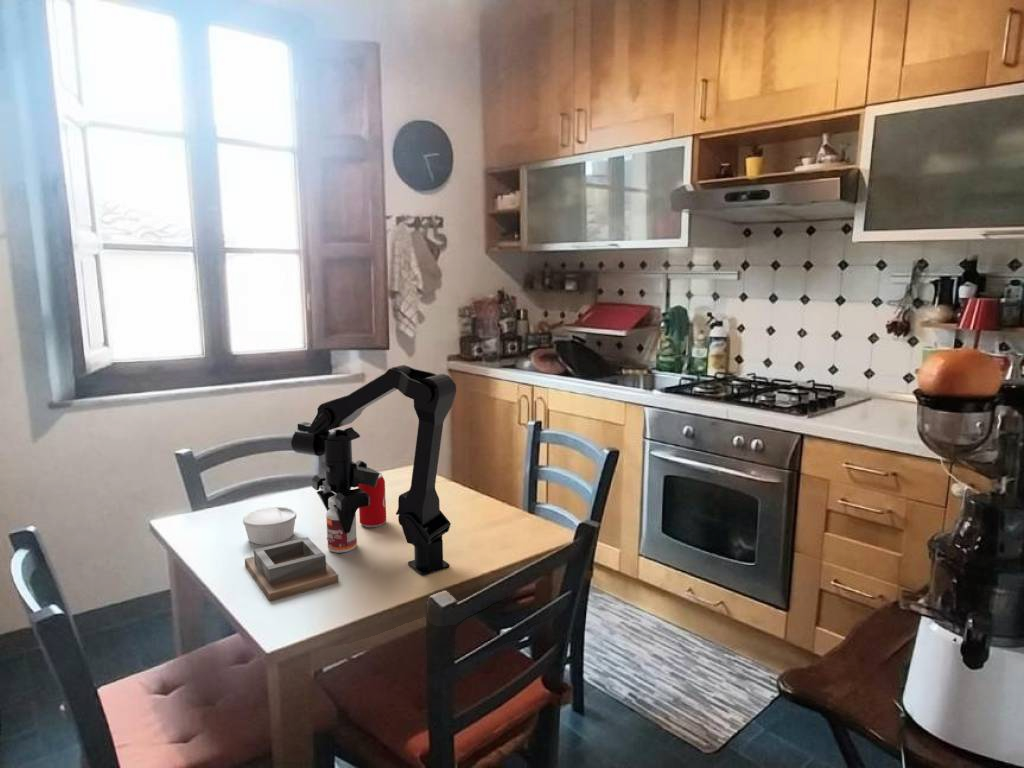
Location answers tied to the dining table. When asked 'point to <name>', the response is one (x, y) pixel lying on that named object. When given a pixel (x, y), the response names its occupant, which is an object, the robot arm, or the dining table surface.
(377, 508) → the beverage can
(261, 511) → the ramekin
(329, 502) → the pill bottle
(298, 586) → the socket board
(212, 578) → the dining table surface
